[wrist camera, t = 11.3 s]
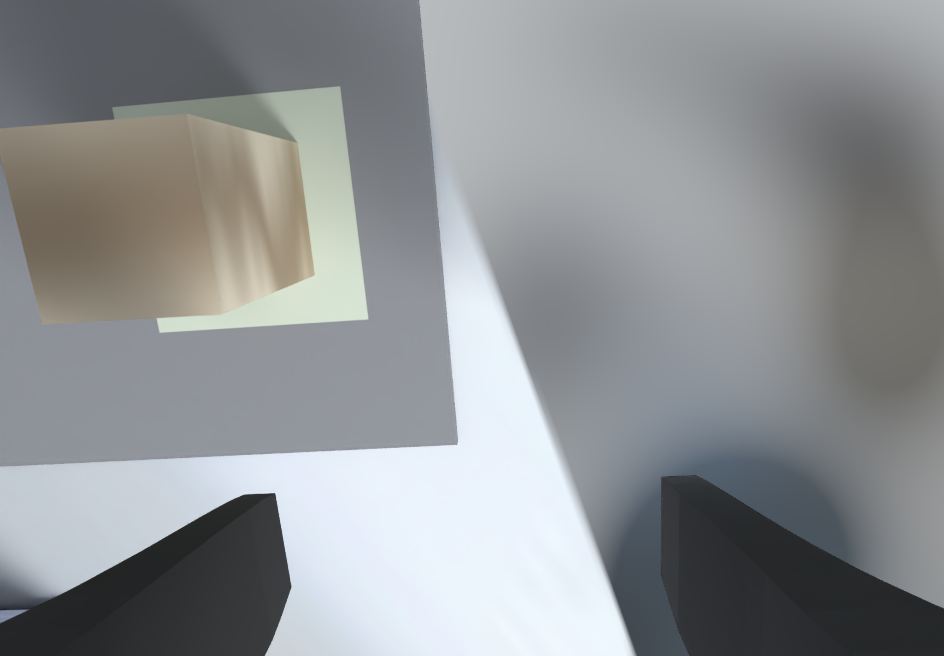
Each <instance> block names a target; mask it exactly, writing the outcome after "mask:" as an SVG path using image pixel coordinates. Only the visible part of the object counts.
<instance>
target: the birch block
mask: <svg viewBox="0 0 944 656" xmlns="http://www.w3.org/2000/svg"><path fill="white" fill-rule="evenodd" d="M0 157H1V161H2V165H3V169H4V173H5V177H6V181H7V185H8V189H9V193H10V197H11V201H12V205H13V209H14V213H15V217H16V221H17V225H18V229H19V233H20V237H21V241H22V245H23V249H24V253H25V257H26V261H27V265H28V269H29V273H30V277H31V281H32V285H33V289H34V293H35V297H36V301H37V305H38V309H39V313H40V317H41V321H42V324H59V323H78V322H96V321H114V320H133V319H151V318H169V317H187V316H206V315H222V314H224V313H227V312H229V311H231V310H234V309H236V308H239V307H241V306H243V305H246V304H248V303H250V302H253V301H255V300H257V299H260V298H262V297H265V296H267V295H269V294H272V293H274V292H276V291H279V290H281V289H284V288H286V287H288V286H291V285H293V284H295V283H298V282H300V281H303V280H305V279H307V278H310V277H312V276H314V275H315V272H314V265H313V257H312V249H311V242H310V234H309V226H308V219H307V211H306V203H305V196H304V188H303V181H302V173H301V165H300V158H299V150H298V143H296V142H292V141H288V140H284V139H281V138H277V137H273V136H269V135H266V134H262V133H258V132H254V131H250V130H247V129H243V128H239V127H235V126H232V125H228V124H224V123H220V122H216V121H213V120H209V119H205V118H201V117H198V116H194V115H190V114H177V115H164V116H151V117H139V118H126V119H114V120H101V121H88V122H76V123H63V124H51V125H38V126H25V127H13V128H0Z"/></svg>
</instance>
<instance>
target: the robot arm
mask: <svg viewBox="0 0 944 656" xmlns="http://www.w3.org/2000/svg"><path fill="white" fill-rule="evenodd" d="M661 478H662V479H661V480H662V481H661V576H662V580H663V583H664V586H665V590H666V593H667V596H668V600H669V603H670V606H671V609H672V612H673V616H674V618H675V622H676V625H677V628H678V631H679V633H680V635H681V637H682V640H683V642H684V644H685V646H686V649H687V651H688V653H689V655H690V656H944V608H941V607H939V606H937V605H934V604H932V603H930V602H928V601H925V600H923V599H921V598H919V597H917V596H915V595H912V594H910V593H908V592H906V591H904V590H901V589H899V588H897V587H895V586H893V585H890V584H888V583H886V582H884V581H882V580H880V579H878V578H876V577H874V576H872V575H869V574H867V573H865V572H863V571H861V570H859V569H857V568H855V567H853V566H852V565H849V564H848V563H846V562H844V561H842V560H840V559H839V558H836V557H835V556H832V555H831V554H829V553H827V552H826V551H824V550H822V549H819V548H818V547H816V546H814V545H813V544H810V543H809V542H807V541H805V540H804V539H802V538H800V537H799V536H797V535H795V534H793V533H792V532H790V531H788V530H787V529H784V528H783V527H781V526H779V525H778V524H776V523H775V522H773V521H771V520H770V519H768V518H766V517H765V516H763V515H762V514H760V513H758V512H757V511H755V510H753V509H752V508H750V507H749V506H747V505H745V504H744V503H742V502H741V501H739V500H737V499H736V498H734V497H733V496H731V495H729V494H728V493H726V492H725V491H722V490H721V489H719V488H718V487H716V486H714V485H713V484H711V483H710V482H708V481H706V480H704V479H702V478H700V477H699V476H696V475H691V476H668V477H661ZM290 590H291V582H290V576H289V570H288V564H287V559H286V553H285V547H284V541H283V536H282V530H281V524H280V518H279V513H278V507H277V501H276V495H275V493H270V494H247V495H242V496H240V497H238V498H235V499H233V500H231V501H229V502H227V503H225V504H223V505H221V506H219V507H218V508H216V509H214V510H212V511H210V512H209V513H207V514H205V515H203V516H201V517H200V518H198V519H196V520H195V521H193V522H191V523H189V524H188V525H186V526H184V527H182V528H181V529H179V530H177V531H175V532H174V533H172V534H170V535H169V536H167V537H165V538H163V539H162V540H160V541H158V542H156V543H155V544H153V545H151V546H150V547H148V548H146V549H144V550H143V551H141V552H139V553H137V554H135V555H134V556H132V557H130V558H128V559H126V560H124V561H123V562H121V563H119V564H117V565H115V566H113V567H112V568H110V569H108V570H106V571H104V572H102V573H100V574H99V575H97V576H95V577H93V578H91V579H89V580H88V581H86V582H84V583H82V584H80V585H78V586H76V587H74V588H73V589H71V590H69V591H67V592H65V593H63V594H61V595H59V596H57V597H55V598H53V599H51V600H48V601H46V602H44V603H42V604H40V605H38V606H36V607H34V608H32V609H30V610H0V656H265V654H266V652H267V650H268V648H269V646H270V644H271V642H272V640H273V637H274V635H275V632H276V629H277V627H278V624H279V621H280V619H281V616H282V613H283V610H284V607H285V604H286V601H287V598H288V595H289V592H290Z"/></svg>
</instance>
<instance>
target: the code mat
mask: <svg viewBox="0 0 944 656" xmlns="http://www.w3.org/2000/svg"><path fill="white" fill-rule="evenodd" d="M177 114H190V115H194V116H198V117H201V118H205V119H209V120H213V121H216V122H220V123H224V124H228V125H232V126H235V127H239V128H243V129H247V130H250V131H254V132H258V133H262V134H266V135H269V136H273V137H277V138H281V139H284V140H288V141H292V142H296V143H298V150H299V158H300V165H301V173H302V181H303V188H304V196H305V203H306V211H307V219H308V226H309V234H310V242H311V249H312V257H313V265H314V272H315V275H314V276H312V277H310V278H307V279H305V280H303V281H300V282H298V283H295V284H293V285H291V286H288V287H286V288H284V289H281V290H279V291H276V292H274V293H272V294H269V295H267V296H265V297H262V298H260V299H257V300H255V301H253V302H250V303H248V304H246V305H243V306H241V307H239V308H236V309H234V310H231V311H229V312H227V313H224V314H222V315H206V316H187V317H169V318H151V319H133V320H114V321H96V322H78V323H59V324H42V321H41V317H40V313H39V309H38V305H37V301H36V297H35V293H34V289H33V285H32V281H31V277H30V273H29V269H28V265H27V261H26V257H25V253H24V249H23V245H22V241H21V237H20V233H19V229H18V225H17V221H16V217H15V213H14V209H13V205H12V201H11V197H10V193H9V189H8V185H7V181H6V177H5V173H4V169H3V165H2V161H1V157H0V467H1V466H22V465H43V464H64V463H85V462H106V461H127V460H148V459H168V458H189V457H210V456H231V455H252V454H273V453H294V452H315V451H335V450H356V449H377V448H398V447H419V446H440V445H457V443H458V437H457V426H456V415H455V403H454V392H453V381H452V369H451V358H450V347H449V335H448V324H447V312H446V301H445V290H444V278H443V267H442V256H441V244H440V233H439V222H438V210H437V199H436V188H435V176H434V165H433V154H432V142H431V131H430V119H429V108H428V97H427V85H426V74H425V63H424V51H423V40H422V29H421V18H420V6H419V0H0V128H13V127H25V126H38V125H51V124H63V123H76V122H88V121H101V120H114V119H126V118H139V117H151V116H164V115H177Z"/></svg>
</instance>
